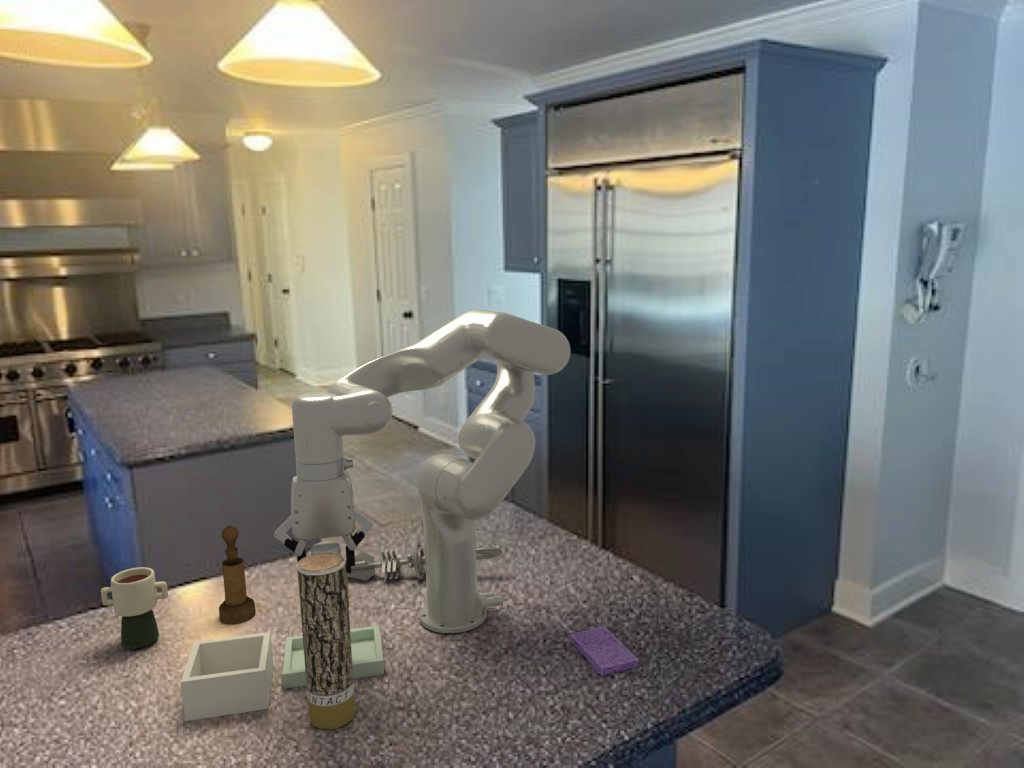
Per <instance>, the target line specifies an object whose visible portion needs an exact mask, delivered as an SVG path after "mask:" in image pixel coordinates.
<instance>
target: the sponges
mask: <svg viewBox="0 0 1024 768" xmlns="http://www.w3.org/2000/svg"><path fill="white" fill-rule="evenodd" d="M569 641H570V642H571V643H572V644H573V645H574V646H575V647H576V648H577V650H578V651H579V652H580V653H581V654H582V655H583V656H584V658H585V659H587V661H588V662H589V663H590V664H591V666H592V667H593V668H594V669H595V670H596V672H598V673H599V674H600V676H605V675H609V674H613V673H616V672H617V673H618V672H621V671H625V670H629V669H632V668H637V667H639V664H638V663H639V658H638V657H636V656H635V655H634V653H633V652H631V651H630V650H628V647H626V646H625V644H624V643H622V642H621V641H620V640H619V639H618V638H617V637H616V635H614V634H613V633H612V632H611V631H610V630H609V629H608V628H607V627H606V626H605V625H602V626H601V625H600V626H598V627H594V628H591V629H589V630H584V631H577V632H574V633H570V634H569Z"/></svg>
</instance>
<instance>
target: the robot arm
mask: <svg viewBox="0 0 1024 768" xmlns="http://www.w3.org/2000/svg"><path fill="white" fill-rule="evenodd" d="M570 357H571V345H570V342H569V339H567V337H566V335H565V334H563V332H561V331H560V330H559V329H556V328H553V327H550V326H547V325H543V324H540V323H537V322H534V321H532V320H529V319H525V318H522V317H519V316H516V315H513V314H510V313H506V312H502V311H494V310H485V309H484V310H483V309H472V310H469V311H466V312H464V313H461V314H460V315H459V316H457V317H455V318H454V319H452V320H451V321H449V322H447V323H446V324H444V325H443V326H440V327H439V328H438V329H437V330H435V331H434V332H432V333H430V334H428V335H427V336H425V337H424V338H422V339H421V340H419V341H417V342H416V343H413V344H412V345H410V346H406V347H404V348H401V349H398V350H395V351H393V352H391V353H389V354H386V355H384V356H381V357H378V358H376V359H373V360H371V361H369V362H367V363H365V364H363V365H361V366H359V367H357V368H356V369H354V370H352V371H350V372H349V373H348V374H346V375H345V376H343V377H342V378H340V379H338V380H337V381H335V382H334V383H333V384H332V385H331V386H330V387H329V388H328V390H327V391H317V392H315V391H313V392H307V393H302V394H299V395H297V396H295V398H294V399H293V401H292V404H291V413H292V414H291V416H292V427H293V443H294V454H295V455H294V456H295V457H294V458H295V468H296V471H295V473H296V475H295V476H293V477H292V481H291V489H290V490H291V492H290V495H291V496H290V516H288V517H287V518H286V519H285V521H283V522H282V524H281V525H280V526H279V527H277V529H276V530H275V531H274V537H275V538H276V539H277V540H278V541H279V542H280V543H282V544H283V545H284V546H285V547H286V548H287V549H288V550H289V551H291V552H293V553H294V555H295V556H296V561H297V563H296V564H298V562H299V561H300V560H301V559H303V558H305V557H307V556H308V555H307V549H305V547H306V545H307V543H308V540H319V539H329V538H338V537H340V538H342V539H343V541H344V543H345V561H346V563H347V573H348V574H350V573H351V566H355V556H356V555H355V553H356V552H355V550H356V548H357V546H358V545H359V544H360V543H361V542H362V541H363V540H364V539H365V538H366V535H368V533H370V531H371V530H372V529H373V527H374V523H373V520H371V519H370V518H368V517H367V516H365V515H364V514H362V512H360V511H358V509H356V506H355V499H354V498H355V497H354V489H353V485H352V479H351V476H350V473H349V472H347V470H349V469H351V468H354V464H353V463H354V460H353V459H348V458H347V459H346V457H344V444H343V441H344V440H343V437H344V436H368V435H373V434H377V433H379V432H381V431H383V430H384V429H385V428H387V426H388V425H389V424H390V422H391V420H392V417H393V407H392V403H391V401H390V400H389V398H390V397H392V396H395V395H398V394H402V393H407V392H415V391H425V390H429V389H434V388H436V387H439V386H442V385H444V384H445V383H446V382H448V381H449V380H451V379H452V378H454V377H455V376H456V375H458V374H459V373H461V372H462V371H464V370H465V369H466V368H468V367H470V366H471V365H473V364H474V363H476V362H477V361H479V360H481V359H487V360H488V359H489V360H493V361H496V376H495V377H496V378H495V380H494V383H493V385H492V387H491V389H489V391H488V392H487V394H486V395H485V396H484V398H483V399H482V400H481V401H480V402H479V403H478V405H477V406H476V408H475V409H474V410H473V412H471V414H470V415H469V417H467V419H466V420H465V422H464V423H463V424H462V426H461V427H460V429H459V431H458V435H457V444H458V447H459V449H460V451H462V452H463V453H464V454H465V455H466V456H468V457H469V458H472V459H474V461H473V462H472V461H470V460H468V459H466V458H462V457H459V456H457V455H453V454H450V453H438V454H434V455H431V456H430V457H428V458H426V459H425V460H424V462H422V464H421V466H420V468H419V470H418V473H417V478H416V487H417V488H416V490H417V494H418V499H419V504H420V507H421V508H420V509H421V514H422V520H423V521H422V522H423V536H424V537H423V538H424V556H425V562H426V564H425V578H426V579H425V580H426V604H425V605H424V606H423V607H422V608H421V609H420V611H419V622H420V625H422V626H423V627H424V628H426V629H427V630H430V631H432V632H434V633H441V634H459V633H464V632H468V631H470V630H473V629H476V628H477V627H479V626H481V625H482V624H483V623H484V622H485V621H486V618H487V609H488V608H491V607H501V606H502V607H503V605H504V599H503V595H502V594H499V595H498V594H497V595H494V591H487V592H482V591H479V588H478V568H477V567H478V566H477V565H478V564H477V561H478V560H477V558H476V549H477V529H476V521H479V520H482V519H485V518H487V517H489V516H490V515H491V514H492V513H494V511H495V510H496V509H497V508H498V507H499V506H500V504H501V503H502V502H503V500H504V499H505V498H506V497H507V496H508V494H509V493H510V491H511V489H512V488H513V487H514V486H515V485H516V484H517V482H518V481H519V479H520V478H521V476H522V475H523V474H524V473H525V471H526V470H527V468H528V467H529V465H530V464H531V461H532V460H533V457H534V453H535V449H536V437H535V433H534V431H533V430H532V427H531V426H530V425H529V424H528V423H526V422H525V421H524V420H525V419H526V417H527V416H528V414H529V413H530V411H531V410H532V407H533V405H534V401H535V397H536V384H535V383H536V381H535V373H536V374H540V375H548V376H549V375H554V374H557V373H559V372H560V371H562V370H563V369H564V368H565V367H566V366H567V364H568V363H569V360H570ZM356 522H357V523H358V524H359V525H361V527H360V528H359V529H358V530H357V531H356ZM290 529H291V531H292V536H293V537H292V536H289V535H288V534H287V532H288V531H289V530H290ZM355 531H356V532H355ZM353 533H354V534H353Z"/></svg>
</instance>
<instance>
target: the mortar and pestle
mask: <svg viewBox="0 0 1024 768" xmlns="http://www.w3.org/2000/svg"><path fill="white" fill-rule="evenodd" d="M239 534H240V533H239V529H238V528H237V527H236V526H234V525H229V526H225V527H224V528H223V530H222V531H221V539H222V540H223V541H224V542H225V544H226V549H225V550H224V551H225V556H226V559H224V560H223V561H222V562H221V568H222V576H223V586H224V587H223V588H224V600H223V602H221V604H220V605H219V607H218V613H219V620H220V621H221V622H222V623H223V624H224V623H225V624H229V625H230V624H232V625H235V624H239V623H244V622H246V621H248V620H251V619H252V618H253V617H254V616H255V615H256V603H255V600H254V599H253V598H251V597H250V596H248V594H247V584H246V573H245V563H244V561H245V560H244V559H243V558H242V557H238V554H239V548H238V547H236V542H237V540H238V538H239Z"/></svg>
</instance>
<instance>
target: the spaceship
mask: <svg viewBox="0 0 1024 768" xmlns="http://www.w3.org/2000/svg"><path fill="white" fill-rule="evenodd" d="M503 553H504V551H503V549H502V548H498V547H482V548H476V558H477V561H478V560H490V559H495V558H498V557H499V556H501V555H502V554H503ZM381 557H382V558H381V559H380V561H376V562H375V557H374V556H373V555H371V554H369V553H367V552H362V553H358V554H357V555H355V566H351V573H350V574H348V573H347V576H348V578H351V579H352V578H353V579H356V580H357V579H358V580H363V581H368V580H370V578H372V577H374V575H376V569H379V568H381V573H384V580H385V581H386V580H387V579H388V577H389V580H392V579H393V577H394V579H398V578H399V575H402V570H401V567H402V566H403V565H407V567H408V568H409V569H414V572H415V574H416V576H417V579H418V580H419V581H421V580H422V579H423V578H424V574H425V572H426V562H425V550H424V549H423V547H422V544H421V542H420V541H416V542H415V544H414V547H413V554H408V555H407V556H406V557H407V558H404V559H401V554H399V547H395V550H394V547H391V548H390V550H389V548H385V549H384V551H383V552H382V551H381Z"/></svg>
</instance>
